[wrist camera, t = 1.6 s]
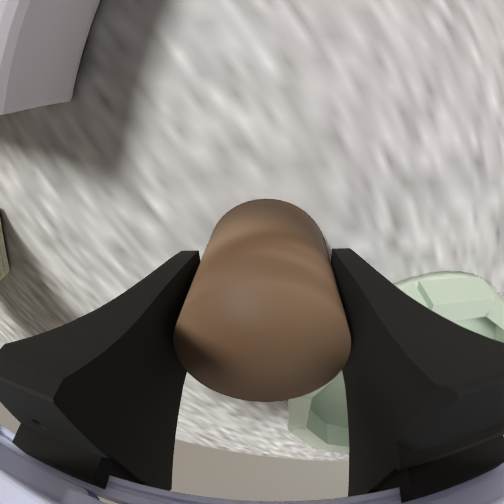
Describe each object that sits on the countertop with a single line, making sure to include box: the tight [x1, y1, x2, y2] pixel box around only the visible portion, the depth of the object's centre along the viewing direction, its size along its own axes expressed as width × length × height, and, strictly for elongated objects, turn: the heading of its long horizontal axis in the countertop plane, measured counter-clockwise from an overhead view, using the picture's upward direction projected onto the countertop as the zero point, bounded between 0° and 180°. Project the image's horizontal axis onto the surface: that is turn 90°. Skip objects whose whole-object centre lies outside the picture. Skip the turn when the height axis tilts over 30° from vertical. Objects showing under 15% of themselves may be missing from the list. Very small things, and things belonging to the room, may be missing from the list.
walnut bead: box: [173, 199, 351, 402], centre depth 9 cm, size 4×4×5 cm
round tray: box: [288, 271, 504, 453], centre depth 14 cm, size 14×14×2 cm
